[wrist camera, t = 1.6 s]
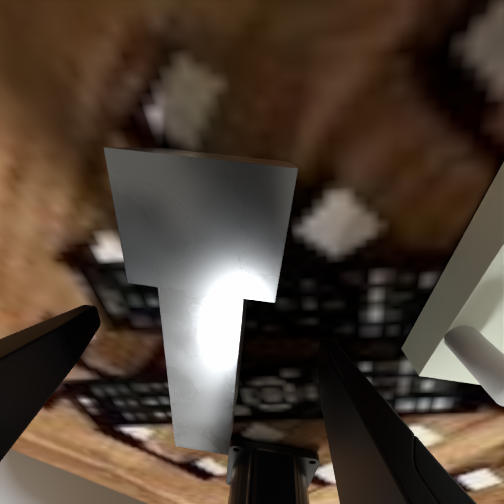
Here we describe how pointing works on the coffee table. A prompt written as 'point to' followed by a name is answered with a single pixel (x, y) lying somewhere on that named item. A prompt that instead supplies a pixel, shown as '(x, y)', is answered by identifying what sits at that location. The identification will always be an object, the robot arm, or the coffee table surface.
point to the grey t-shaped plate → (202, 266)
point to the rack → (467, 306)
